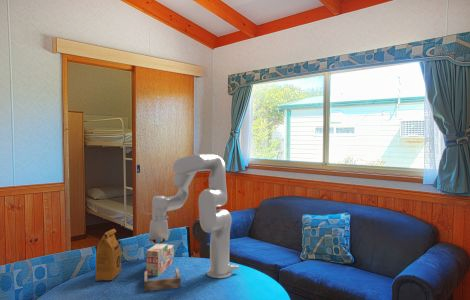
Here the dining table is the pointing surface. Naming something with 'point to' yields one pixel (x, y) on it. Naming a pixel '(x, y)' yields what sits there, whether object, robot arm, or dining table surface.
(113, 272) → the coffee package
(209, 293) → the dining table surface
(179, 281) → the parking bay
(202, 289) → the dining table surface
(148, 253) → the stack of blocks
